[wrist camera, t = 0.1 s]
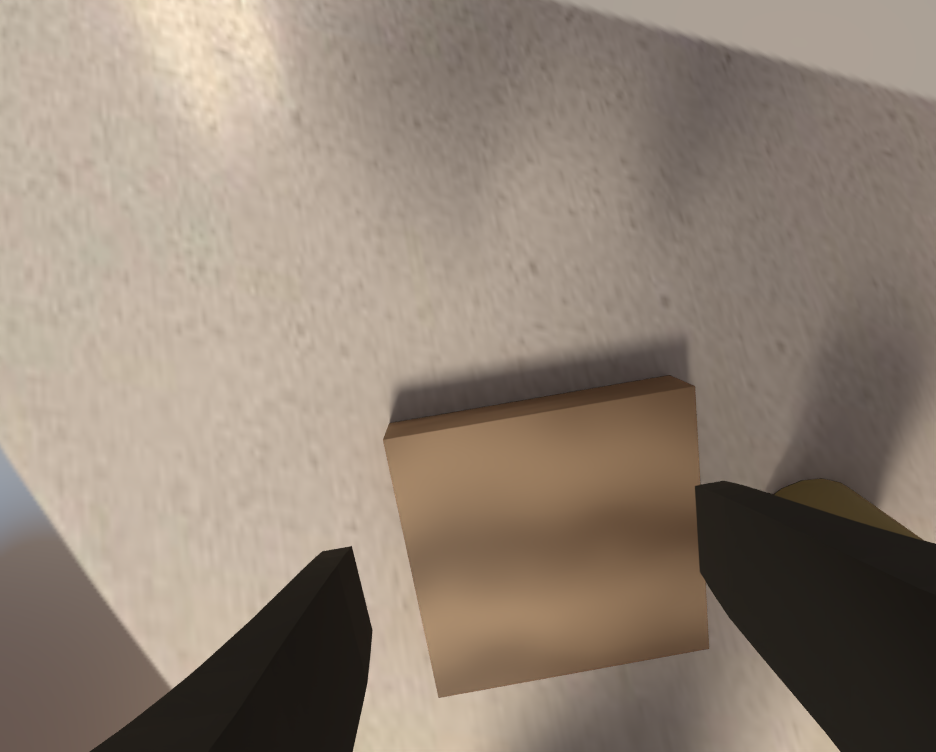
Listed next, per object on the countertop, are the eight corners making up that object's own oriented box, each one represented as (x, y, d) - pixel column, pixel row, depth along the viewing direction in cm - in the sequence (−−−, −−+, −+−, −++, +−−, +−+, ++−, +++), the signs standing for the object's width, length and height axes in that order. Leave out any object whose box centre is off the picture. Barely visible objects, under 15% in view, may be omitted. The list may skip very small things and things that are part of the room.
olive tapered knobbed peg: (785, 459, 20) (1166, 663, 10) (893, 504, 21) (1356, 738, 10) (720, 571, 21) (998, 866, 11) (825, 610, 22) (1182, 920, 12)
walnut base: (685, 615, 22) (709, 648, 20) (439, 659, 22) (438, 697, 20) (669, 375, 19) (695, 386, 17) (389, 423, 19) (383, 439, 17)
